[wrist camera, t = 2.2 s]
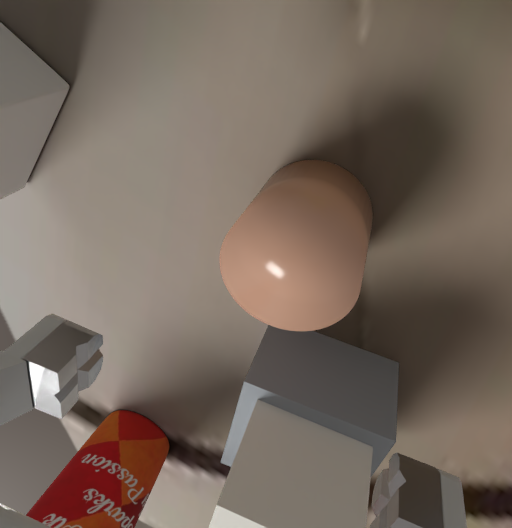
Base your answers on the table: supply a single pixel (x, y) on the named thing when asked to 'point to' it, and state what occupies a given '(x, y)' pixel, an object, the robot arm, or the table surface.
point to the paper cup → (106, 476)
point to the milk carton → (24, 109)
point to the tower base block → (321, 389)
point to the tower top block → (294, 476)
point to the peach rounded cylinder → (300, 247)
